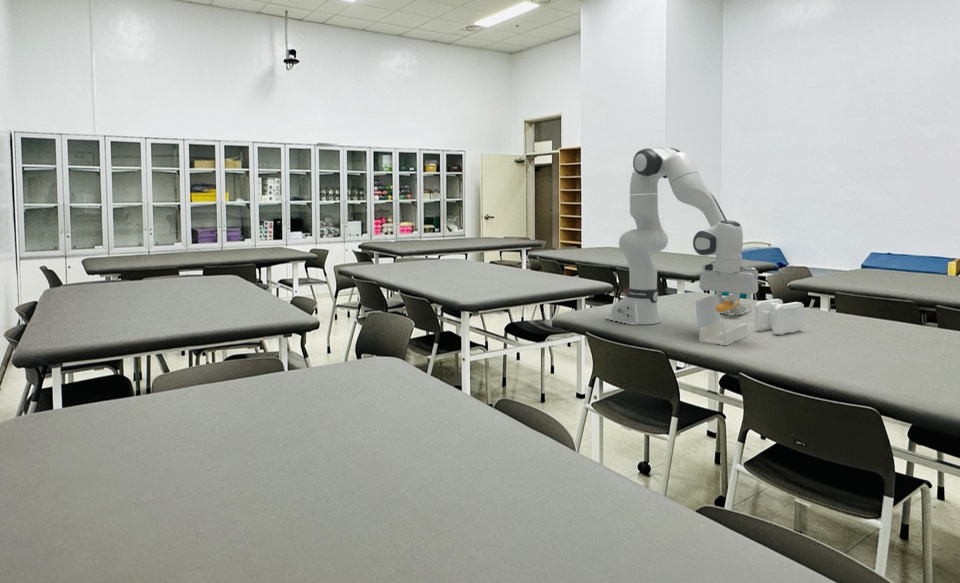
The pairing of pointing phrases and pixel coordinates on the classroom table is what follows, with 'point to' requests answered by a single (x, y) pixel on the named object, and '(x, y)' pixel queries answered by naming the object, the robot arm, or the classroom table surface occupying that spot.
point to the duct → (722, 333)
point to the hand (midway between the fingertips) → (727, 304)
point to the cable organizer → (779, 316)
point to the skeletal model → (736, 310)
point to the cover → (707, 311)
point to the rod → (725, 306)
